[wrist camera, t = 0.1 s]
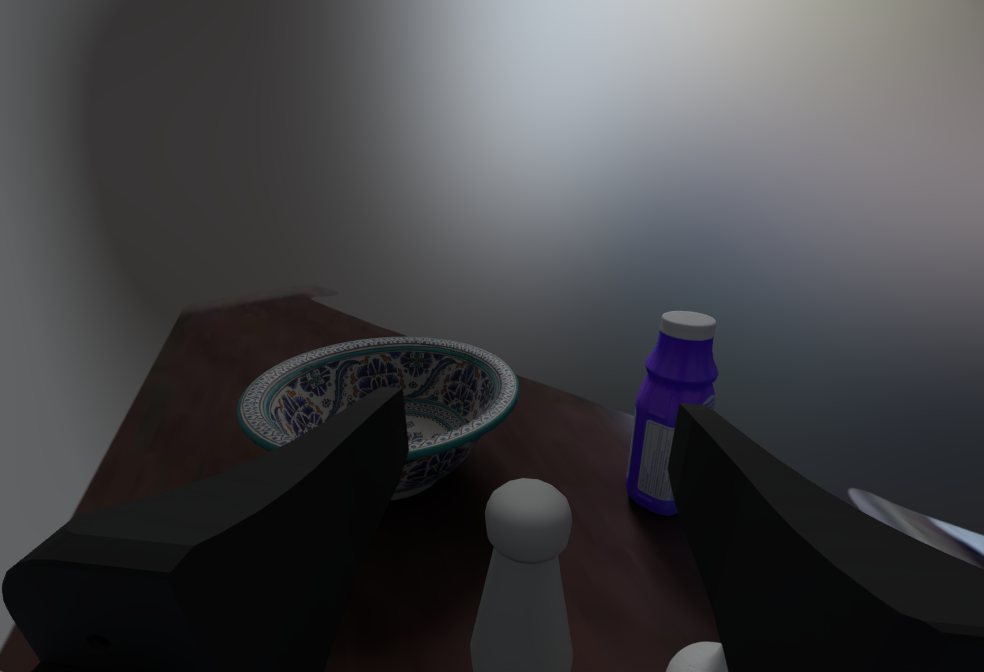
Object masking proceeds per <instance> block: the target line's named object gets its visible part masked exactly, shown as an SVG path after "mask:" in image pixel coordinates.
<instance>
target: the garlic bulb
mask: <svg viewBox="0 0 984 672" xmlns="http://www.w3.org/2000/svg"><path fill="white" fill-rule="evenodd" d="M666 672H728V668H727V664H726V660H725V656H724V652H723V648H722V644H721V643H716V642H698V643H695V644H691V645H689V646H687V647H685V648H683V649H682V650H681V651H679V652H678V653H677V654H676V655H675V656H674V657H673V659H672V660H671V661H670V663H669V665H668V668H667V670H666Z"/></svg>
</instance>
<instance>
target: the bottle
mask: <svg viewBox="0 0 984 672" xmlns="http://www.w3.org/2000/svg"><path fill="white" fill-rule="evenodd" d="M715 326H716V321H715V319H713V318H712V317H710V316H708V315H705V314H701V313H696V312H689V311H671V312H667V313H664V314H663V315H662V319H661V326H660V333H659V338H658V342H657V345H656V347H655V349H654V350H653V352H652V353H651V355H650V356H649V357H648V358H647V360H646V363H645V366H646V369H647V372H648V374H647V376H646V377H645V379H644V381H643V383H642V385H641V387H640V390H639V392H638V395H637V399H636V404H635V407H636V408H635V416H634V424H633V432H632V440H631V447H630V454H629V462H628V469H627V476H626V488H627V492H628V495H629V496H630V497H631V498H632V500H634V501H635V502H636V503H637V504H639V505H640V506H642V507H644V508H646V509H648V510H649V511H651V512H654V513H656V514H660V515H664V516H670V515H674V514H677V513H678V511H677V508H676V505H675V501H674V497H673V493H672V488H671V484H670V479H669V474H668V469H667V468H668V462H669V457H670V451H671V446H672V440H673V435H674V429H675V424H676V418H677V413H678V407H679V403H683V404H701V405H706V406H707V407H709V408H710V409H712V410H713V409H714V406H715V394H714V388H713V385H712V383H713V382H714V381H715V380H716V378H717V376H718V370H717V367H716V365H715V362H714V360H713V353H712V344H713V338H714V335H715Z"/></svg>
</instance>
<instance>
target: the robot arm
mask: <svg viewBox="0 0 984 672" xmlns="http://www.w3.org/2000/svg"><path fill="white" fill-rule="evenodd" d="M408 452H409V444H408V434H407V424H406V414H405V404H404V395H403V388H394V387H380V388H378V389H376V390H374V391H373V392H371V393H369V394H368V395H366V396H365V397H363V398H361V399H360V400H358V401H357V402H355V403H354V404H352V405H351V406H349V407H347V408H346V409H344V410H343V411H341V412H339V413H338V414H336V415H335V416H333V417H332V418H330V419H328V420H327V421H325V422H323V423H322V424H320V425H318V426H317V427H315V428H313V429H311V430H310V431H308V432H306V433H304V434H303V435H301V436H299V437H297V438H296V439H294V440H292V441H290V442H288V443H287V444H285V445H283V446H281V447H279V448H277V449H275V450H273V451H270V452H268V453H266V454H264V455H262V456H260V457H258V458H256V459H253V460H251V461H249V462H247V463H244V464H242V465H239V466H236V467H234V468H231V469H229V470H226V471H224V472H221V473H219V474H216V475H214V476H211V477H209V478H206V479H203V480H200V481H197V482H195V483H192V484H189V485H186V486H183V487H180V488H177V489H173V490H170V491H167V492H164V493H160V494H157V495H154V496H150V497H147V498H143V499H140V500H136V501H132V502H128V503H124V504H120V505H116V506H112V507H108V508H104V509H100V510H96V511H92V512H88V513H83V514H79V515H77V516H75V517H74V518H72V519H71V520H70V521H69V522H67V523H66V524H65V525H64V526H62V527H61V528H60V529H59V530H57V531H56V532H55V533H54V534H53V535H51V536H50V537H49V538H48V539H46V540H45V541H44V542H43V543H42V544H40V545H39V546H38V547H37V548H35V549H34V550H33V551H32V552H30V553H29V554H28V555H27V556H25V557H24V558H23V559H22V560H20V561H19V562H18V563H17V564H16V565H14V566H13V567H12V568H11V569H9V570H8V571H7V572H6V575H5V577H4V580H3V583H2V593H3V600H4V603H5V605H6V607H7V609H8V611H9V613H10V615H11V617H12V618H13V620H14V621H15V623H16V625H17V626H18V628H19V629H20V631H21V632H22V634H23V635H24V637H25V638H26V640H27V641H28V643H29V645H30V646H31V648H32V649H33V651H34V652H35V654H36V655H37V657H38V658H39V660H40V661H41V662H40V663H39V664H38V665H37V666H36V667H35V668H34V669H33V670H32V671H31V672H324V669H325V665H326V662H327V659H328V656H329V653H330V650H331V647H332V644H333V641H334V638H335V635H336V632H337V629H338V626H339V623H340V620H341V617H342V614H343V611H344V608H345V605H346V602H347V599H348V597H349V594H350V591H351V588H352V585H353V583H354V580H355V577H356V574H357V572H358V569H359V567H360V565H361V562H362V560H363V557H364V555H365V553H366V551H367V549H368V547H369V545H370V543H371V540H372V538H373V536H374V534H375V532H376V530H377V528H378V526H379V524H380V522H381V520H382V517H383V515H384V513H385V511H386V509H387V507H388V505H389V503H390V501H391V498H392V496H393V494H394V492H395V490H396V488H397V485H398V483H399V481H400V478H401V475H402V472H403V469H404V465H405V462H406V459H407V455H408ZM667 469H668V474H669V479H670V484H671V488H672V493H673V497H674V501H675V505H676V508H677V511H678V514H679V517H680V519H681V522H682V525H683V528H684V531H685V533H686V536H687V539H688V541H689V544H690V547H691V550H692V552H693V555H694V558H695V560H696V563H697V566H698V569H699V571H700V574H701V577H702V579H703V582H704V585H705V587H706V590H707V594H708V597H709V600H710V603H711V606H712V609H713V613H714V617H715V621H716V624H717V628H718V632H719V636H720V640H721V644H722V648H723V652H724V656H725V660H726V664H727V668H728V672H984V570H983V569H981V568H979V567H977V566H974V565H972V564H970V563H967V562H965V561H963V560H960V559H958V558H956V557H953V556H951V555H949V554H947V553H944V552H942V551H940V550H938V549H936V548H934V547H931V546H929V545H927V544H925V543H923V542H921V541H918V540H916V539H914V538H912V537H910V536H908V535H906V534H904V533H902V532H900V531H898V530H896V529H894V528H892V527H890V526H888V525H886V524H884V523H882V522H880V521H878V520H877V519H875V518H873V517H871V516H869V515H867V514H865V513H864V512H862V511H860V510H858V509H856V508H854V507H852V506H851V505H849V504H848V503H845V502H844V501H842V500H841V499H839V498H837V497H835V496H834V495H832V494H830V493H829V492H827V491H825V490H824V489H822V488H820V487H819V486H817V485H816V484H814V483H812V482H811V481H809V480H808V479H806V478H805V477H803V476H802V475H800V474H799V473H797V472H796V471H794V470H793V469H791V468H790V467H788V466H787V465H786V464H784V463H783V462H781V461H780V460H778V459H777V458H776V457H774V456H773V455H771V454H770V453H768V452H767V451H766V450H765V449H763V448H762V447H760V446H759V445H758V444H756V443H755V442H754V441H752V440H751V439H750V438H748V437H747V436H746V435H745V434H743V433H742V432H741V431H739V430H738V429H737V428H736V427H734V426H733V425H732V424H730V423H729V422H728V421H726V420H725V419H724V418H723V417H721V416H720V415H718V414H717V413H716V412H715V411H713V410H712V409H710V408H709V407H707V406H706V405H701V404H683V403H679V407H678V413H677V418H676V424H675V429H674V435H673V440H672V446H671V451H670V457H669V462H668V468H667ZM0 672H2V671H0Z"/></svg>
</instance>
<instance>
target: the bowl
mask: <svg viewBox="0 0 984 672" xmlns="http://www.w3.org/2000/svg"><path fill="white" fill-rule="evenodd" d="M380 387H394V388H403V395H404V404H405V414H406V424H407V434H408V444H409V452H408V455H407V459H406V462H405V465H404V469H403V472H402V475H401V478H400V481H399V483H398V485H397V488H396V490H395V492H394V494H393V496H392V498H391V500H398V499H403V498H407V497H410V496H413V495H416V494H418V493H420V492H422V491H424V490H426V489H427V488H429V487H430V486H432V485H433V484H434V483H435V482H436V481H437V480H439V479H441V478H442V477H444V476H446V475H447V474H449V473H450V472H452V471H453V470H454V469H455V468H457V467H458V466H459V465H460V464H461V463H462V462H463V461H464V460H465V459H466V458H467V457H468V456H469V454H470V453H471V452H472V451H473V449H474V448H475V446H476V445H477V443H478V441H479V440H480V438H481V436H482V435H484V434H486V433H487V432H489V431H491V430H492V429H493V428H495V427H496V426H497V425H499V424H500V423H501V422H502V421H503V420H504V419H505V418H506V417H507V416H508V415H509V414H510V413H511V411H512V410H513V408H514V407H515V405H516V403H517V400H518V396H519V382H518V379H517V376H516V374H515V372H514V371H513V370H512V368H511V367H510V366H509V365H508V364H506V362H505V361H503V360H502V359H500V358H499V357H497V356H496V355H494V354H492V353H490V352H488V351H486V350H483V349H481V348H478V347H475V346H472V345H469V344H464V343H461V342H456V341H451V340H444V339H437V338H426V337H384V338H372V339H363V340H356V341H350V342H345V343H340V344H335V345H331V346H327V347H323V348H319V349H316V350H312V351H309V352H306V353H303V354H300V355H298V356H295V357H293V358H290V359H288V360H286V361H284V362H282V363H280V364H278V365H276V366H274V367H272V368H271V369H269V370H267V371H266V372H264V373H263V374H262V375H260V376H259V377H258V378H256V379H255V380H254V381H253V382H252V383H251V384H250V385H249V386H248V387H247V388H246V390H245V391H244V393H243V394H242V396H241V398H240V400H239V402H238V406H237V418H238V422H239V425H240V427H241V429H242V431H243V432H244V433H245V435H246V436H247V437H248V438H249V439H250V440H252V441H253V442H254V443H255V444H257V445H258V446H260V447H262V448H263V449H265V450H268V451H273V450H275V449H277V448H279V447H281V446H283V445H285V444H287V443H288V442H290V441H292V440H294V439H296V438H297V437H299V436H301V435H303V434H304V433H306V432H308V431H310V430H311V429H313V428H315V427H317V426H318V425H320V424H322V423H323V422H325V421H327V420H328V419H330V418H332V417H333V416H335V415H336V414H338V413H339V412H341V411H343V410H344V409H346V408H347V407H349V406H351V405H352V404H354V403H355V402H357V401H358V400H360V399H361V398H363V397H365V396H366V395H368V394H369V393H371V392H373V391H374V390H376V389H378V388H380Z"/></svg>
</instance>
